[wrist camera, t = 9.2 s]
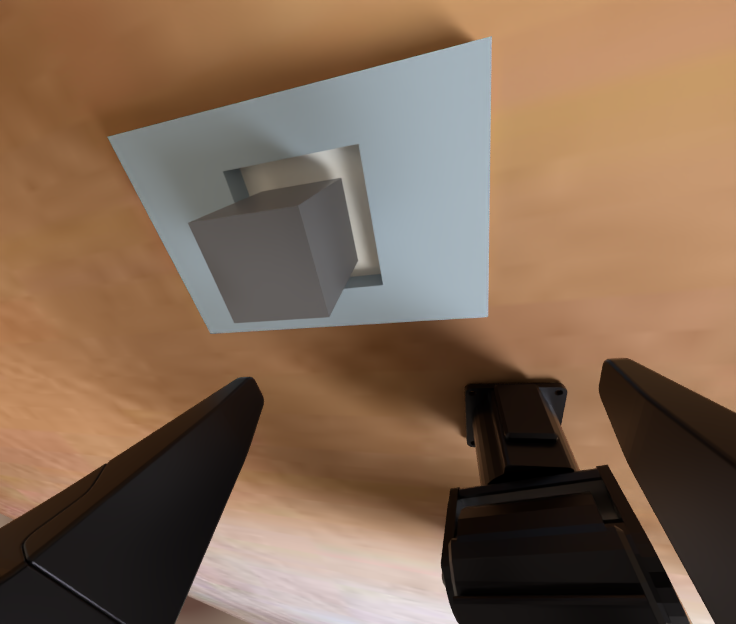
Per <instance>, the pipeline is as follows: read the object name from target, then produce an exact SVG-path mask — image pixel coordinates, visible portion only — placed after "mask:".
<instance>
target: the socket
mask: <svg viewBox="0 0 736 624" xmlns="http://www.w3.org/2000/svg"><path fill="white" fill-rule="evenodd" d="M491 44H492V36H491V37H487V38H483V39H480V40H476V41H472V42H468V43H464V44H460V45H457V46H453V47H449V48H445V49H441V50H438V51H434V52H430V53H426V54H422V55H418V56H415V57H411V58H407V59H403V60H399V61H395V62H392V63H388V64H384V65H380V66H376V67H372V68H369V69H365V70H361V71H357V72H353V73H350V74H346V75H342V76H338V77H334V78H330V79H327V80H323V81H319V82H315V83H311V84H307V85H304V86H300V87H296V88H292V89H288V90H285V91H281V92H277V93H273V94H269V95H265V96H262V97H258V98H254V99H250V100H246V101H242V102H239V103H235V104H231V105H227V106H223V107H219V108H216V109H212V110H208V111H204V112H200V113H197V114H193V115H189V116H185V117H181V118H177V119H174V120H170V121H166V122H162V123H158V124H154V125H151V126H147V127H143V128H139V129H135V130H132V131H128V132H124V133H120V134H116V135H112V136H109V137H108V139H109V141H110V143H111V145H112V147H113V149H114V151H115V153H116V154H117V156H118V158H119V160H120V162H121V164H122V166H123V168H124V170H125V172H126V174H127V175H128V177H129V179H130V181H131V183H132V185H133V187H134V189H135V191H136V193H137V194H138V196H139V198H140V200H141V202H142V204H143V206H144V208H145V210H146V212H147V214H148V215H149V217H150V219H151V221H152V223H153V225H154V227H155V229H156V231H157V233H158V234H159V236H160V238H161V240H162V242H163V244H164V246H165V248H166V250H167V252H168V254H169V255H170V257H171V259H172V261H173V263H174V265H175V267H176V269H177V271H178V273H179V274H180V276H181V278H182V280H183V282H184V284H185V286H186V288H187V290H188V292H189V294H190V295H191V297H192V299H193V301H194V303H195V305H196V307H197V309H198V311H199V313H200V314H201V316H202V318H203V320H204V322H205V324H206V326H207V328H208V330H209V332H210V333H211V334H216V333H232V332H249V331H265V330H282V329H298V328H314V327H331V326H347V325H364V324H380V323H396V322H413V321H429V320H446V319H462V318H479V317H488V275H489V198H490V121H491ZM337 178H342V183H343V188H344V193H345V198H346V203H347V208H348V213H349V218H350V223H351V228H352V233H353V238H354V243H355V248H356V252H357V257H358V262H357V264H356V266H355V268H354V270H353V272H352V274H351V276H350V278H349V280H348V282H347V284H346V286H345V287H344V289H343V291H342V293H341V295H340V297H339V299H338V301H337V303H336V305H335V307H334V309H333V311H332V313H331V315H330V317H325V318H310V319H294V320H278V321H262V322H246V323H234V322H233V319H232V317H231V315H230V313H229V311H228V309H227V307H226V304H225V302H224V300H223V298H222V296H221V294H220V291H219V289H218V287H217V285H216V283H215V281H214V278H213V276H212V274H211V272H210V270H209V268H208V265H207V263H206V261H205V259H204V257H203V255H202V253H201V250H200V248H199V246H198V244H197V242H196V240H195V237H194V235H193V233H192V231H191V229H190V227H189V224H188V223H189V222H191V221H193V220H196V219H198V218H200V217H203V216H205V215H207V214H210V213H212V212H215V211H217V210H219V209H222V208H224V207H226V206H229V205H231V204H233V203H236V202H238V201H241V200H243V199H245V198H248V197H250V196H252V195H255V194H257V193H259V192H262V191H267V190H273V189H279V188H284V187H290V186H296V185H302V184H308V183H313V182H319V181H325V180H331V179H337Z"/></svg>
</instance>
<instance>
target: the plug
mask: <svg viewBox="0 0 736 624" xmlns="http://www.w3.org/2000/svg"><path fill="white" fill-rule="evenodd" d="M188 224H189V227H190V229H191V231H192V233H193V235H194V237H195V240H196V242H197V244H198V246H199V248H200V250H201V253H202V255H203V257H204V259H205V261H206V263H207V265H208V268H209V270H210V272H211V274H212V276H213V278H214V281H215V283H216V285H217V287H218V289H219V291H220V294H221V296H222V298H223V300H224V302H225V304H226V307H227V309H228V311H229V313H230V315H231V317H232V319H233V322H234V323H246V322H262V321H278V320H294V319H310V318H325V317H330V315H331V313H332V311H333V309H334V307H335V305H336V303H337V301H338V299H339V297H340V295H341V293H342V291H343V289H344V287H345V286H346V284H347V282H348V280H349V278H350V276H351V274H352V272H353V270H354V268H355V266H356V264H357V262H358V257H357V252H356V248H355V243H354V238H353V233H352V228H351V223H350V218H349V213H348V208H347V203H346V198H345V193H344V188H343V183H342V178H337V179H331V180H325V181H319V182H313V183H308V184H302V185H296V186H290V187H284V188H279V189H273V190H267V191H262V192H259V193H257V194H255V195H252V196H250V197H248V198H245V199H243V200H241V201H238V202H236V203H233V204H231V205H229V206H226V207H224V208H222V209H219V210H217V211H215V212H212V213H210V214H207V215H205V216H203V217H200V218H198V219H196V220H193V221H191V222H189V223H188Z"/></svg>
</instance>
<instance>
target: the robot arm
mask: <svg viewBox="0 0 736 624" xmlns="http://www.w3.org/2000/svg"><path fill="white" fill-rule="evenodd" d="M557 390H559V391H557ZM470 391H474V392H470ZM599 394H600V397H601V400H602V402H603V405H604V407H605V410H606V412H607V415H608V417H609V419H610V422H611V424H612V427H613V429H614V432H615V434H616V437H617V439H618V442H619V444H620V446H621V449H622V451H623V454H624V456H625V458H626V460H627V463H628V465H629V467H630V468H631V470H632V472H633V474H634V476H635V478H636V480H637V482H638V483H639V485H640V487H641V489H642V491H643V493H644V494H645V496H646V498H647V500H648V502H649V504H650V505H651V507H652V509H653V511H654V513H655V515H656V516H657V518H658V520H659V522H660V524H661V525H662V527H663V529H664V531H665V533H666V535H667V536H668V538H669V540H670V542H671V544H672V546H673V547H674V549H675V551H676V553H677V555H678V557H679V558H680V560H681V562H682V564H683V566H684V568H685V569H686V571H687V573H688V575H689V577H690V579H691V580H692V582H693V584H694V586H695V588H696V589H697V591H698V593H699V595H700V597H701V599H702V600H703V602H704V604H705V606H706V608H707V610H708V611H709V613H710V615H711V617H712V619H713V621H714V622H715V624H736V413H735V412H733V411H731V410H729V409H727V408H725V407H723V406H721V405H719V404H717V403H715V402H713V401H711V400H710V399H708V398H706V397H704V396H702V395H700V394H698V393H696V392H694V391H692V390H690V389H688V388H686V387H684V386H682V385H680V384H678V383H676V382H674V381H672V380H670V379H668V378H666V377H664V376H662V375H660V374H658V373H656V372H654V371H653V370H651V369H649V368H647V367H645V366H643V365H641V364H639V363H637V362H635V361H633V360H631V359H628V358H614V359H607V360H605V361H604V363H603V366H602V372H601V377H600V383H599ZM566 397H567V390H566V388H565V386H564V385H563V384H561V383H517V384H469V385H467V386H466V387H465V413H466V439H467V445H469V446H470V447H476V454H477V461H478V469H479V476H480V483H481V486H475V487H469V488H462V489H460V488H459V487H458V488H451V489H450V496H449V502H448V508H447V516H446V524H445V532H444V541H443V549H442V557H441V568H442V580H443V584H444V585H445V587H446V591H447V595H448V599H449V603H450V606H451V609H452V612H453V614H454V616H455V618H456V620H457V622H458V623H459V624H690V622H689V620H688V618H687V615H686V613H685V611H684V609H683V607H682V604H681V602H680V600H679V598H678V596H677V594H676V592H675V590H674V588H673V586H672V584H671V582H670V580H669V578H668V576H667V574H666V571H665V570H664V568H663V566H662V564H661V562H660V560H659V558H658V556H657V554H656V552H655V550H654V548H653V546H652V544H651V542H650V541H649V539H648V537H647V535H646V533H645V531H644V530H643V528H642V526H641V524H640V522H639V521H638V519H637V517H636V515H635V513H634V512H633V510H632V508H631V506H630V504H629V503H628V501H627V499H626V497H625V495H624V494H623V492H622V490H621V488H620V486H619V485H618V483H617V481H616V479H615V477H614V476H613V474H612V472H611V470H610V468H609V467H608V465H602V466H596V468H595V469H588V470H582V471H580V469H579V467H578V465H577V462H576V460H575V458H574V455H573V453H572V451H571V448H570V446H569V444H568V441H567V439H566V437H565V434H564V432H563V430H562V427H561V423H562V418H563V412H564V407H565V402H566ZM263 405H264V398H263V395H262V393H261V391H260V389H259V387H258V385H257V383H256V381H255V380H254V379H253V378H252V377H240V378H237V379H235V380H234V381H232V382H231V383H229V384H228V385H226V386H225V387H223V388H221V389H220V390H218V391H217V392H215V393H214V394H212V395H211V396H209V397H208V398H206V399H204V400H203V401H201V402H200V403H198V404H197V405H195V406H194V407H192V408H191V409H189V410H187V411H186V412H184V413H183V414H181V415H180V416H178V417H177V418H175V419H174V420H172V421H170V422H169V423H167V424H166V425H164V426H163V427H161V428H160V429H158V430H157V431H155V432H153V433H152V434H150V435H149V436H147V437H146V438H144V439H143V440H141V441H139V442H138V443H136V444H135V445H133V446H132V447H130V448H129V449H127V450H126V451H124V452H122V453H121V454H119V455H118V456H116V457H115V458H113V459H112V460H110V461H109V462H108V463H106V464H104V465H102V466H101V467H99V468H98V469H96V470H95V471H93V472H91V473H90V474H88V475H87V476H85V477H84V478H82V479H80V480H79V481H77V482H76V483H74V484H73V485H71V486H69V487H68V488H66V489H65V490H63V491H61V492H60V493H58V494H56V495H55V496H53V497H51V498H50V499H48V500H47V501H45V502H43V503H42V504H40V505H38V506H37V507H35V508H33V509H32V510H30V511H28V512H27V513H25V514H23V515H22V516H20V517H18V518H16V519H15V520H13V521H11V522H10V523H8V524H6V525H5V526H3V527H1V528H0V624H175V623H176V620H177V618H178V616H179V613H180V611H181V609H182V606H183V604H184V602H185V599H186V597H187V595H188V592H189V590H190V588H191V585H192V583H193V581H194V578H195V576H196V574H197V571H198V569H199V567H200V564H201V562H202V560H203V557H204V555H205V553H206V550H207V548H208V546H209V543H210V541H211V539H212V536H213V534H214V532H215V529H216V527H217V525H218V522H219V520H220V518H221V515H222V513H223V511H224V508H225V506H226V504H227V501H228V499H229V496H230V494H231V492H232V489H233V487H234V485H235V482H236V480H237V478H238V475H239V473H240V471H241V468H242V466H243V464H244V461H245V459H246V456H247V454H248V451H249V448H250V445H251V442H252V439H253V436H254V433H255V430H256V427H257V424H258V420H259V417H260V414H261V411H262V408H263Z"/></svg>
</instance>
